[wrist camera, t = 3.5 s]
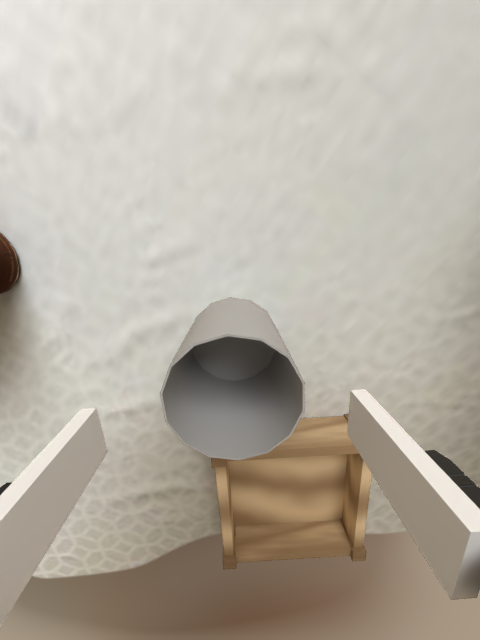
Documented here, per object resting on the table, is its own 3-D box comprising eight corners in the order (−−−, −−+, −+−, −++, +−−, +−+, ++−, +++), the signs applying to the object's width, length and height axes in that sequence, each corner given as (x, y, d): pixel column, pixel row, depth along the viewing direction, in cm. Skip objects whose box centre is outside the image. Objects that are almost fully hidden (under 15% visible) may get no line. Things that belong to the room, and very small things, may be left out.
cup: (231, 393, 25) (229, 481, 16) (173, 338, 24) (130, 401, 14) (294, 341, 24) (334, 403, 14) (237, 279, 22) (238, 302, 12)
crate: (214, 422, 26) (210, 455, 22) (357, 413, 26) (380, 445, 22) (225, 525, 31) (223, 569, 26) (347, 517, 31) (365, 560, 26)
